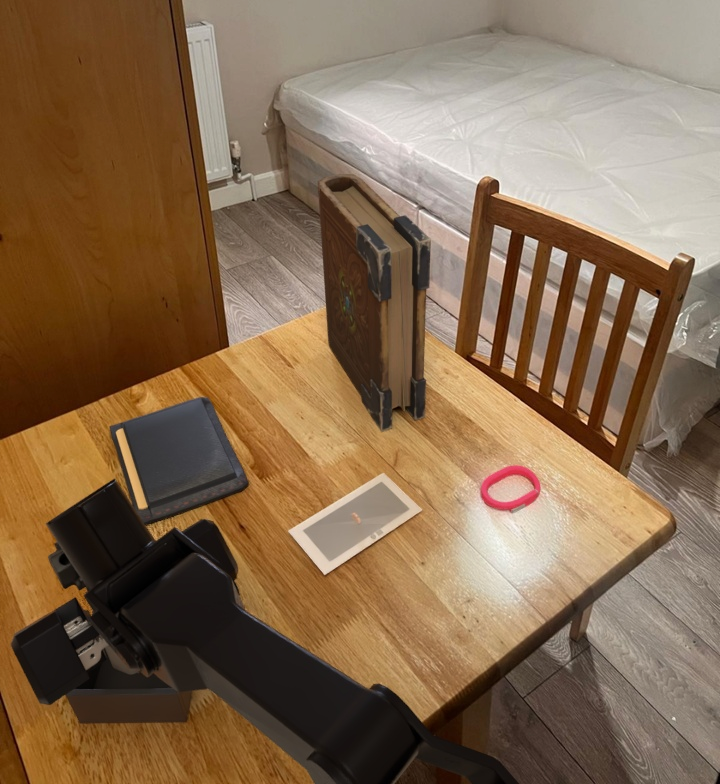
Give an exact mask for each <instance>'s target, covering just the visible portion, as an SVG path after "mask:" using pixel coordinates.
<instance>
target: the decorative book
mask: <svg viewBox="0 0 720 784" xmlns="http://www.w3.org/2000/svg"><path fill="white" fill-rule="evenodd" d="M317 192H318V194H317V195H318V209H319V222H320V223H319V224H320V225H319V226H320V237H321V238H320V239H321V251H322V252H321V253H322V254H321V255H322V269H323V285H324V286H323V287H324V298H325V299H324V300H325V312H326V329H327V341H328V347H329V348H330V350H331V352H332V353H333V354H334V356H335V358H336V360H338V362H339V364H340V365H341V367H342V369H343V370H344V372H345V373H346V375H347V376H348V378H349V379H350V381H351V382H352V384H353V386H354V387H355V389H356V390H357V392H358V393H359V395H360V396H361V403H362V405H363V406H364V408H365V410H366V411H367V413H368V414H369V415H370V418H371V419H372V420H373V421H374V424H375V425H376V426H377V428H378V430H379V431H380V432H381V433H383V432H387V431H389V430H392V429H393V409H395V408H397V407H400V408H401V410H402V411H403V412H406V411H407V412H408V414H409V415H410V417H411V419H412V420H413V421H414V422H415V421H418V420H421V419H424V418H426V395H427V394H426V393H427V379H426V378H425V377H424V376H425V375H424V373H425V348H426V347H425V344H426V317H427V316H426V313H427V312H426V310H427V289H430V283H431V282H430V281H431V280H430V279H431V256H432V255H431V253H432V249H431V248H432V238H430V237H429V236H428V235H427V234H426V233H425V232H424V231H423V230H422V229H421V228H420V227H419V226H418V225H417V224H415V222H414V221H413V220H411V218H409V217H408V216H407V214H405V215H400V214H399V213H398V212H397V211H395V209H393V208H392V207H391V206H390V205H389V204H388V202H386V201H385V200H384V199H383V198H382V197H381V196H380V195H379V194H378V193H377V192H376V190H374V189H373V188H372V187H371V186H370V185H369V184H368V183H367V182H366V181H364V179H362V178H361V177H359V176H357V175H355V174H352V173H351V174H350V173H339V174H333V175H329V176H325V177H322V178H321V179H319V180H318V181H317Z"/></svg>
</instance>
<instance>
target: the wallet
mask: <svg viewBox="0 0 720 784" xmlns="http://www.w3.org/2000/svg"><path fill="white" fill-rule="evenodd" d="M109 431H110V436H111V439H112V442H113V444H114V448H115V450H116V454H117V458H118V461H119V464H120V468H121V471H122V473H123V474H122V475H123V478H124V480H125V484H126V488H127V491H128V495H129V498H130V502H131V504H132V505H133V507H134V508H135V510H136V511H137V513H138V515H139V516H140V518H141V519H142V521H143V522H144V524H145V525H146V526H147V525H150V524H154V523H157V522H160V521H163V520H166V519H169V518H172V517H174V516H177V515H181V514H183V513H186V512H188V511H191V510H194V509H197V508H200V507H202V506H206V505H209V504H211V503H214V502H216V501H219V500H222V499H225V498H228V497H230V496H232V495H233V496H234V495H235V494H237V493H241V492H242V491H244V490H245V489H246V488H248V487H249V486H250V483H249V479H248V477H247V475H246V472H245V470H244V469H243V466H242V464H241V462H240V460H239V458H238V456H237V454H236V452H235V450H234V448H233V446H232V444H231V442H230V440H229V438H228V436H227V434H226V432H225V429H224V427H223V425H222V423H221V420H220V418H219V416H218V414H217V412H216V409H215V407H214V405H213V403H212V401H211V400H210V398H209V397H208V396H198V397H195V398H192V399H188V400H186V401H182V402H179V403H176V404H174V405H170V406H168V407H167V406H166V407H164V408H162V409H159V410H156V411H151V412H149V413H146V414H143V415H140V416H137V417H134V418H131V419H127V420H124V421H121V422H119V423H115V424H113V425H109Z"/></svg>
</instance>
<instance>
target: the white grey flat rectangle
mask: <svg viewBox="0 0 720 784" xmlns="http://www.w3.org/2000/svg"><path fill="white" fill-rule="evenodd" d="M422 511H423V508H421V507H420V506H419V505H418V504H417V503H416V502H415V501H414V500H413V499H412V498H411V497H410V496H409V495H408V494H407V493H405V492H404V490H403V489H401V488H400V487H399V486H398V485H397V484H396V483H395V482H394V481H393V480H392V479H391V478H390V477H389V476H388V475H387V474H386V473H384V472H381V473H380V474H378V475H377V476H375V477H374V478H372V479H370V480H369V481H367V482H365V483H364V484H362V485H361V486H358V487H357V488H356V489H354V490H352V491H351V492H350V493H347V494H346V495H344V496H343V497H340V498H339V499H338V500H335V501H334V502H333V503H331V504H329V505H328V506H326V507H325V508H323V509H322V510H319V511H318V512H316V513H315V514H313V515H311V516H310V517H308V518H307V519H305V520H304V521H302V522H300V523H298V524H297V525H295V526H293V527H291V528H290V529H288V530H287V532H288V533H289V534H290V536H291V537H292V538H293V540H295V542H296V543H297V544H298V545H299V546H300V547H301V549H302V550H303V551H304V552H305V553H306V555H307V556H308V557H309V558H310V559H311V561H312V562H313V563H314V564H315V565H316V567H317V568H318V569H319V570H320V571H321V572H322V574H323V575H324V576H326V575H327V574H329V573H330V572H333V570H335V569H336V568H338V567H339V566H341V565H342V564H344V563H345V562H347V561H348V560H350V559H351V558H353V557H354V556H356V555H358V554H359V553H361V552H362V551H363V550H365V549H367V548H368V547H369V546H371V545H372V544H374V543H375V542H377V541H379V540H380V539H381V538H383V537H384V536H386V535H387V534H389V533H390V532H392V531H394V530H395V529H396V528H398V527H399V526H401V525H402V524H404V523H405V522H407V521H408V520H410V519H412V518H413V517H414V516H416V515H418V514H419V513H421V512H422Z"/></svg>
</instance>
